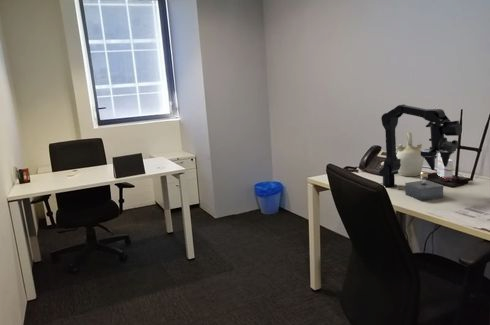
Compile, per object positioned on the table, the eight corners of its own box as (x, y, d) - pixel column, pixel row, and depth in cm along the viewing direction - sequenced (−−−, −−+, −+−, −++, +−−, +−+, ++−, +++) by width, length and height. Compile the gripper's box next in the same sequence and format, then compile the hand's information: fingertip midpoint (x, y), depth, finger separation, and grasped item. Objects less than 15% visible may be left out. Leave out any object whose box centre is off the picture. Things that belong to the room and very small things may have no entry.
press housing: (405, 194, 196) (405, 182, 194) (426, 191, 198) (426, 179, 197) (420, 201, 184) (421, 188, 183) (443, 197, 186) (443, 185, 185)
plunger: (409, 186, 194) (410, 171, 192) (425, 184, 195) (426, 169, 194) (421, 191, 185) (421, 175, 183) (438, 188, 187) (438, 173, 185)
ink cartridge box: (453, 181, 211) (454, 154, 209) (443, 182, 212) (444, 155, 209) (445, 177, 220) (446, 152, 217) (436, 178, 220) (437, 152, 217)
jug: (392, 176, 232) (392, 134, 227) (399, 170, 244) (399, 130, 239) (420, 178, 223) (421, 134, 218) (425, 172, 235) (426, 130, 230)
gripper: (440, 138, 174) (442, 173, 176) (466, 133, 183) (467, 165, 185) (418, 138, 184) (420, 171, 186) (444, 133, 193) (445, 164, 195)
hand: (439, 168), depth 188 cm, fingers open, 9 cm apart
